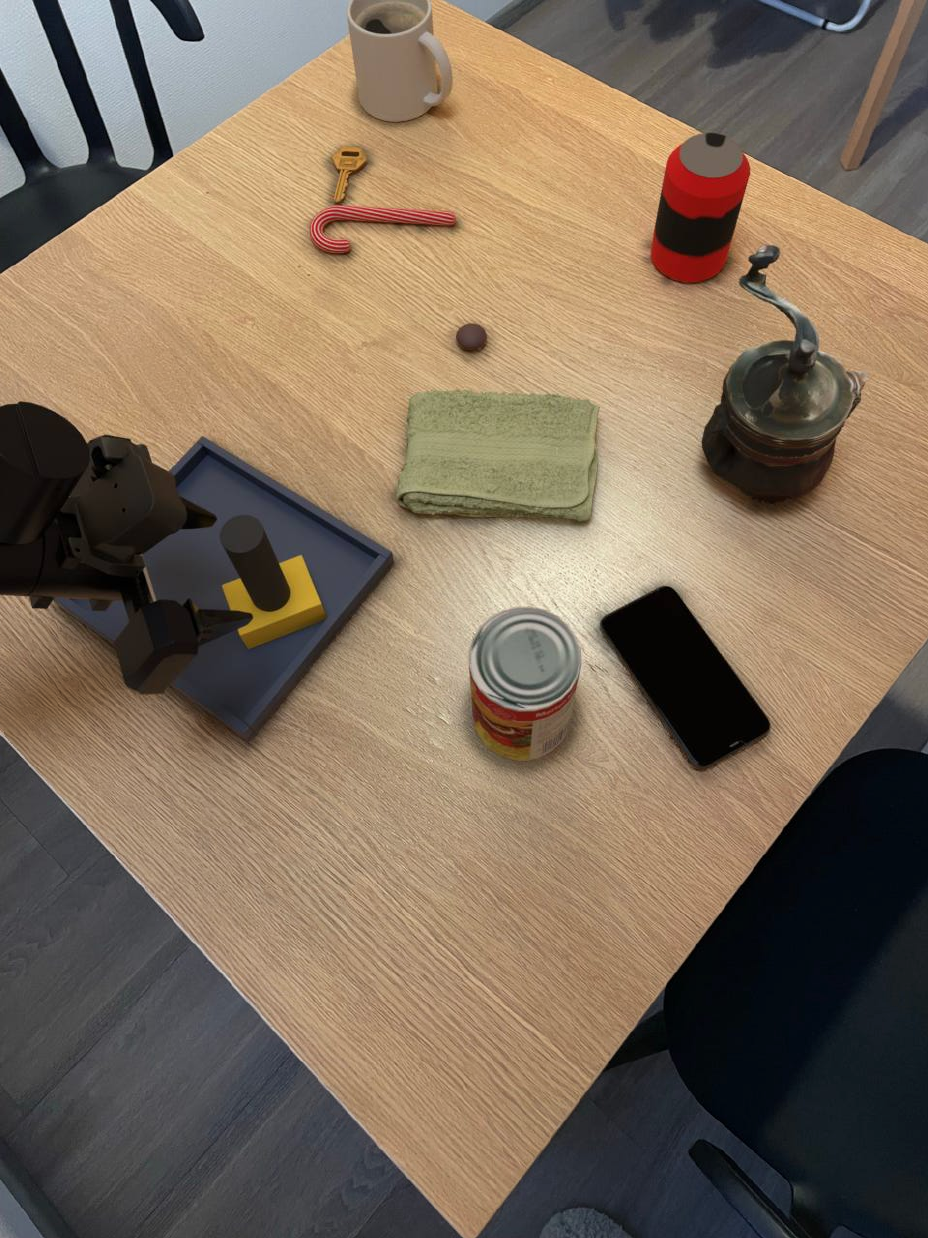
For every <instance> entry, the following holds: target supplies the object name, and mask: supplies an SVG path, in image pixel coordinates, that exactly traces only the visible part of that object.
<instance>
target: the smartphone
mask: <svg viewBox="0 0 928 1238" xmlns="http://www.w3.org/2000/svg"><path fill="white" fill-rule="evenodd" d="M599 629H600V631H601V633H602V634H603V636H604V638H605V639H606V641H607V642H608V643H609V645H610V647H611V648H612V649H613V651H614V653H615V654H616V655H617V657H618V658H619V660H620V662H621V663H622V664H623V666H624V667H625V669H626V670H627V672H628V673H629V675H630V676H631V677H632V679H633V681H634V682H635V684H636V685H637V687H638V688H639V689H640V691H641V693H642V694H643V695H644V697H645V698H646V700H647V701H648V703H649V705H650V707H652V709H653V710H654V712H655V714H656V715H657V716H658V719H660V721H661V723H662V724H663V726H664V727H665V729H666V731H667V732H668V733H669V734H670V736H671V737H672V739H673V741H674V742H675V744H677V746H678V747H679V749H680V750H681V752H682V754H683V755H684V756H685V759H686V760H687V761H688V762H689V763H690V765H691V766H692V767H693V768H695V769H697V770H701V771H702V770H707V769H709V768H712V767H713V766H715V765H717V764H718V763H720V762H722V761H725V760H726V759H727V758H729V757H730V756H732V755H734V754H736V753H738V752H740V751H742V750H743V749H745V748H746V747H748V746H750V745H752V744H754V743H756V742H757V741H759V740H760V739H763V738H765V736H767V735H768V734H769V733H770V731H771V728H772V724H771V722H770V719H769V717H768V716H767V714H766V713H765V712H764V711H763V709H762V708H761V706H760V705H759V703H758V702H757V701H756V699H755V698H754V696H753V695H752V693H751V692H750V691H749V689H748V688H747V686H745V684H744V682H743V681H742V680H741V678H740V676H739V675H738V674H737V673H736V672H735V670H734V669H733V668H732V666H731V664H730V663H729V662H728V660H727V659H726V658H725V656H724V655H723V654H722V652H721V651H720V649H719V648H718V647H717V645H716V644H715V643H714V641H713V640H712V639H711V637H710V636H709V634H708V633H707V632H706V630H705V629H704V628H703V626H702V625H701V623H700V622H699V621H698V619H697V618H696V616H695V615H694V613H693V612H692V611H691V610H690V608H689V607H688V605H687V604H686V602H684V600H683V599H682V597H681V596H680V595H679V592H677V591H676V589H675V588H673V587H671V586H669V585H662V586H659V587H656V588H655V589H653V590H651V591H649V592H647V593H645V594H643V595H641V596H639V597H637V598H636V599H634V600H632V601H630V602H628V603H625V604H624V605H622V606H620V607H618V608H617V609H615V610H613V611H611V612H609V613H607V614H605V615H604V616H602V618H601V619H600V621H599Z"/></svg>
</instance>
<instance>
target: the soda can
mask: <svg viewBox="0 0 928 1238" xmlns="http://www.w3.org/2000/svg"><path fill="white" fill-rule="evenodd" d="M750 177H751V165H750V161H749V160H748V157H747V156H746V155H745V153H744V152H743V149H742V147H741V146H740V145H739V144H738V142H736V140H734V139H732V138H731V137H729V136H727V135H724V134H721V133H716V132H703V133H698V134H695V135H692V136H690V137H688V138H687V139H686V140H685V141H684V142H683V143H681V144H680V145H678V146H676V148H674V149H673V150H672V151H671V153H670V154H669V155H668V158H667V160H666V164H665V169H664V175H663V181H662V186H661V191H660V197H659V201H658V208H657V212H656V218H655V224H654V225H655V226H654V230H653V235H652V241H651V245H650V256H651V260H652V262H653V264H654V266H655V267H656V268H657V269H658V270H659V271H660V272H661V273H662V274H663V275H664V276H666V277H668V278H669V279H671V280H674V281H678V282H682V283H697V282H698V283H699V282H702V281H706V280H708V279H711V278H713V277H714V276H716V275H717V274H718V273H719V272H720V271H721V270H722V269H723V268H724V266H725V264H726V262H727V258H728V256H729V252H730V248H731V244H732V240H733V237H734V233H735V230H736V227H737V224H738V219H739V217H740V212H741V209H742V205H743V201H744V197H745V194H746V191H747V186H748V184H749V180H750Z"/></svg>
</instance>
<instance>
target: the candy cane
mask: <svg viewBox="0 0 928 1238" xmlns="http://www.w3.org/2000/svg"><path fill="white" fill-rule="evenodd" d="M339 220H340V221H341V220H342V221H359V222H360V221H361V222H375V223H377V222H378V223H394V224H412V225H429V226H430V225H431V226H433V225H434V226H450V227H451V226H453V225H455V223H456V221H457V216H456V214H455V212H453V211H448V210H436V209H435V210H433V209H413V208H399V207H398V208H396V207H378V206H359V205H344V204H343V205H342V204H341V205H340V204H339V205H332V206H328V207H326V208H324V209H322V210H320V211H319V212H317V213H316V215H314V216H313V218H312V219H311V221H310V223H309V229H308V232H309V233H308V234H309V238H310V239H311V241H312V243H313V244H314V246H315V247H317V248H318V249H320V250H322V251H323V252H327V253H330V254H344V253H347V252H349V251H350V250H351V247H352V246H351V242H350V241H349V240H348V238H345V237H341V238H331V237H329V236H326V235H325V234H324V232H323V231H324V228H325V227H326V226H327V225H328V224H329V223H331V222H334V221H339Z"/></svg>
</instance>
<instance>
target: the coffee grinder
mask: <svg viewBox="0 0 928 1238" xmlns="http://www.w3.org/2000/svg"><path fill="white" fill-rule="evenodd" d="M780 256H781V249H780V248H779V247H778V246H777V245H774V244H762V245H761V246H760V247H758V249H757V250H756V252H755V253H753V254H751V255H749V256H748V262H749V263H750V264H751V267H750V268H749V270H748V272H747V273H746V274H745V275H744V274H743V275H741V276H740V277H739V280H738V286H740V288H741V289H742V290H745V291H746V292H747V293H750V294H752V296H754V297H756V299H758V300H761V301H762V302H765V303H768V304H770V305H773V306H774V307H775V308H776V309H777V310H779V311H780V313H783V314H784V315H785V316H786V318H787V319H788V320H789V321H790V323H791V324H792V325H793V326H794V329H795V335H794V340H793V339H792V340H791V339H790V340H789V339H781V340H773V341H769V342H763V343H761V344H759V345H757V346H755V347H749V348H748V349H746V350H744V351H743V352H742V353H741V354H739V356H738V357H737V358H736V360H734V362H732V364H731V365H730V366H729V368H728V371H727V373H726V375H725V376H724V378H723V381H722V388H721V389H722V392H721V396H720V403H719V404H717V405H716V406H715V407H714V409H713V412H712V415H711V416H710V419H709V420H708V422H707V423H706V424H705V426H704V427H703V433H702V437H701V448H702V451H703V455H704V457H705V459H706V462H707V464H708V466H709V468H710V471H711V472H712V474H713V475H715V476H716V477H718V478H720V479H721V480H723V481H724V482H727V484H730V485H731V486H733V487H735V488H737V489H738V490H740V491H741V492H742V494H745V495H746V496H747V497H751V499H753V500H756V501H758V502H759V504H761V503H765V504H769V505H772V506H773V505H774V504H777V503H781V502H784V501H787V500H789V499H791V498H792V499H793V500H798V499H800V498H802V497H804V496H806V495H808V494H809V493H810V492H811V491H813V490H814V489H815V488H817V487H818V486H819V485H820V484H821V483H822V481H823V480H824V478H825V476H826V474H827V472H829V469H830V467H831V465H832V463H833V460H834V457H835V453H836V452H835V451H836V450H835V449H836V444H837V443H836V442H837V438H838V436H839V435H840V433H841V431H842V429H843V427H845V423H846V420H848V419H849V418H850V417H851V415H852V413H853V412H854V411H855V409H856V408H857V407H858V405H859V404H860V403H861V401H862V393H861V392H862V391H863V389H864V388H865V385H866V383H867V378H868V376H867V373H866V372H864V371H862V370H846V369H845V368H844V366H843V364H841V363H840V362H839V361H838V359H837V358H836V357H835V356H833V355H831V354H829V353H827V352H826V351H824V350H820V349H819V348H820V336H819V333H818V331H817V329H816V327H815V325H814V323H813V322H812V321H811V319H810V318H808V316H806V315H804V313H802V312H801V310H800V309H799V307H798V306H796V305H795V304H793V303H792V302H791V301H789V300H787V299H785V298H783V297H781V296H780V295H777V294H776V293H775V292H773V291H772V290H771V289H770V288H769V286H767V284H766V283H767V274H766V273H761V272H759V271H760V270H765V269H767V268H769V267H770V265H771V264H774V263H776V261H778V260H779V258H780Z"/></svg>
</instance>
